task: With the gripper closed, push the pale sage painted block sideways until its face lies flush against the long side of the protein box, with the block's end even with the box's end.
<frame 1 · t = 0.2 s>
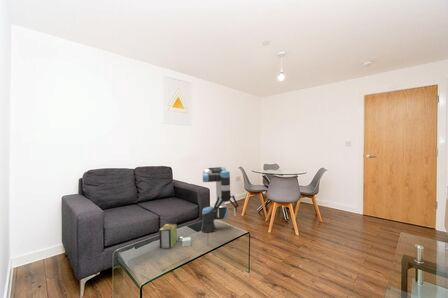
hand: (226, 216, 168), 28 cm above the table, fingers open, 13 cm apart
protein box: (168, 244, 183), on the table
sage block: (186, 244, 181), on the table
metal tin: (181, 240, 189), on the table
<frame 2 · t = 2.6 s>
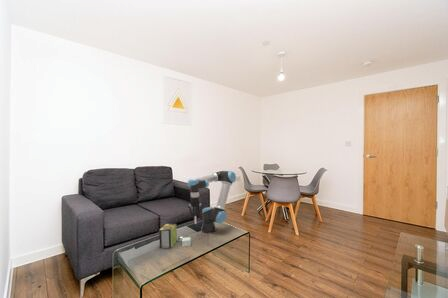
hand: (195, 223, 183), 18 cm above the table, fingers closed
nothing on the table moved.
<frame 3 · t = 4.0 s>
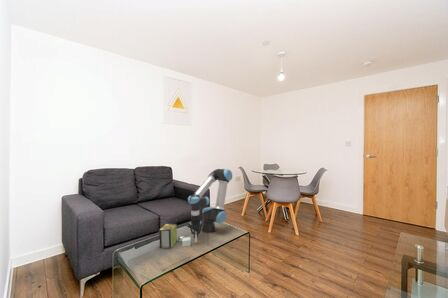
hand: (196, 241, 182), 2 cm above the table, fingers closed
nothing on the table moved.
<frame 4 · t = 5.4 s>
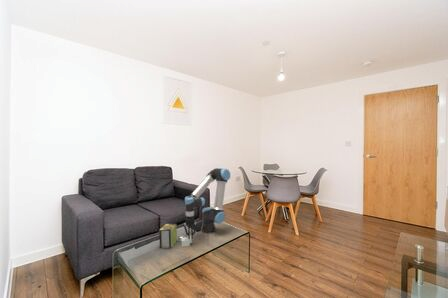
hand: (190, 242, 182), 2 cm above the table, fingers closed
sage block: (185, 244, 181), on the table, touching gripper
everything else where it was.
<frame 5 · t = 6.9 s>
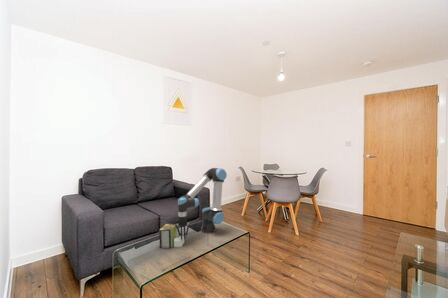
hand: (183, 243, 181), 2 cm above the table, fingers closed
sage block: (178, 245, 180), on the table, touching gripper
everything else where it was.
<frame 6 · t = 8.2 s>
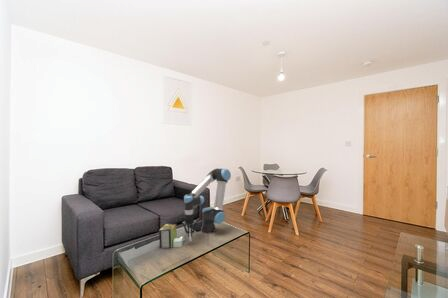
hand: (190, 240, 182), 3 cm above the table, fingers closed
sage block: (178, 245, 180), on the table
everything else where it was.
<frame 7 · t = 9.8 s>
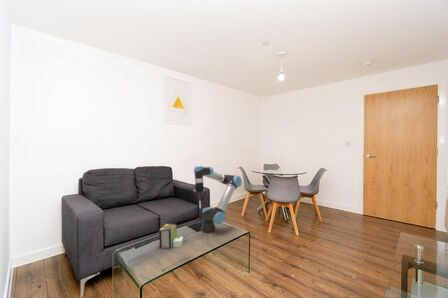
hand: (200, 207, 191), 29 cm above the table, fingers closed
nothing on the table moved.
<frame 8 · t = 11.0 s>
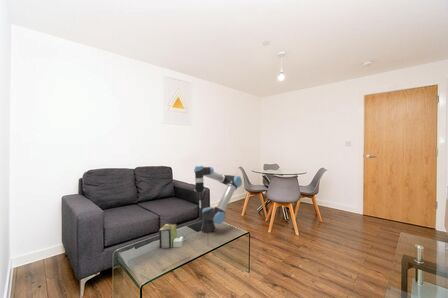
hand: (200, 207, 192), 29 cm above the table, fingers closed
nothing on the table moved.
at the end: sage block 0.4 cm from the target spot on the table beside the protein box, on the table; sage block tilted 0°; protein box moved 0.3 cm from its start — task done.
